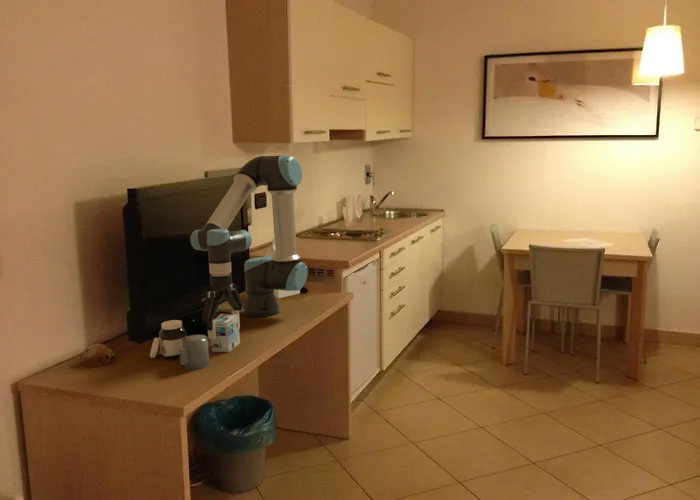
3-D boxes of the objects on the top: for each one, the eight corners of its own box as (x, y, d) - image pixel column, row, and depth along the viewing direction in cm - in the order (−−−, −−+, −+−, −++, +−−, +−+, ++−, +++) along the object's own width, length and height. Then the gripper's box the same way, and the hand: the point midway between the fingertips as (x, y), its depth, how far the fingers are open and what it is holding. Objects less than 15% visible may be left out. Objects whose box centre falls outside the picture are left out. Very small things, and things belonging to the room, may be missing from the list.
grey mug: (195, 359, 218) (193, 333, 216) (214, 362, 214) (212, 336, 213) (173, 370, 208) (170, 343, 207) (192, 373, 205) (190, 346, 203)
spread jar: (192, 355, 222) (189, 323, 220) (161, 365, 214) (158, 330, 212) (174, 348, 230) (171, 316, 228) (144, 356, 222) (141, 324, 220)
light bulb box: (229, 352, 223) (227, 322, 221) (211, 352, 225) (208, 322, 223) (240, 342, 234) (238, 313, 232) (223, 342, 235) (220, 313, 233)
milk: (285, 289, 311) (282, 235, 306) (300, 293, 302) (297, 238, 297) (264, 294, 303) (261, 239, 298) (278, 298, 294) (275, 241, 290)
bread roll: (102, 366, 226) (92, 345, 226) (123, 356, 221) (112, 335, 221) (81, 376, 217) (71, 354, 217) (102, 366, 212) (91, 344, 212)
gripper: (233, 266, 237) (237, 322, 241) (187, 280, 215) (192, 342, 219) (250, 267, 234) (254, 325, 237) (205, 282, 212) (210, 344, 215)
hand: (224, 333), depth 228 cm, fingers open, 13 cm apart
